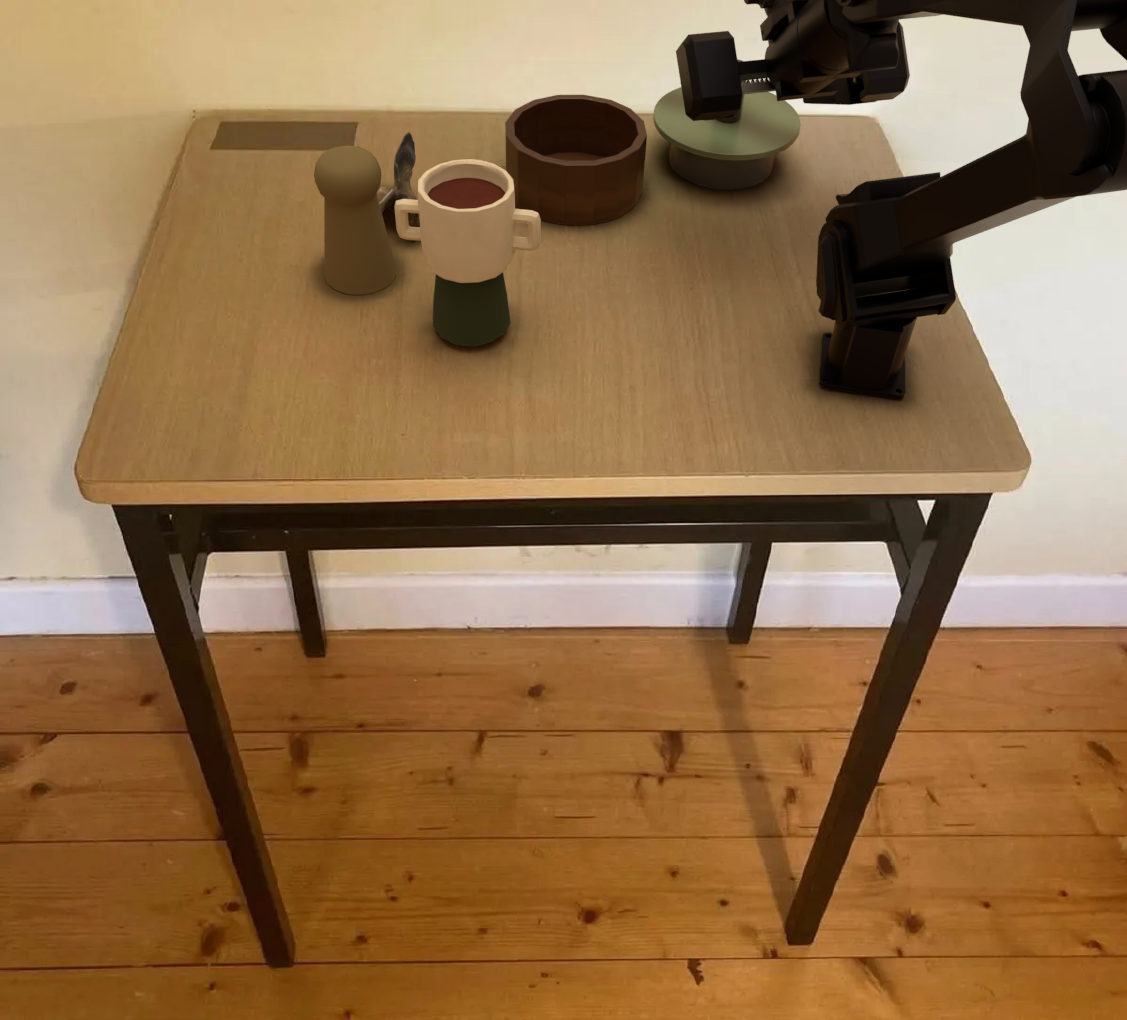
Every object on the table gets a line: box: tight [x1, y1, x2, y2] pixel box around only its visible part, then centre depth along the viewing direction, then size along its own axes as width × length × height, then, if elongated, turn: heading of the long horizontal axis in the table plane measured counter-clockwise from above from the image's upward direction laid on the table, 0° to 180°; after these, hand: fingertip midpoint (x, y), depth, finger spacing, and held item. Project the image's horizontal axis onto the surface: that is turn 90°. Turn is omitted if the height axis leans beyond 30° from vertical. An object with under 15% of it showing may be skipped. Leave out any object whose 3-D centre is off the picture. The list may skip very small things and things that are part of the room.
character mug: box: [394, 158, 542, 348], centre depth 85 cm, size 11×7×13 cm, turn 83°
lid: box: [652, 58, 802, 161], centre depth 104 cm, size 14×14×6 cm
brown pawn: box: [313, 145, 397, 296], centre depth 91 cm, size 6×6×11 cm
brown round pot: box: [504, 94, 648, 226], centre depth 102 cm, size 13×13×6 cm
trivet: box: [669, 143, 776, 190], centre depth 107 cm, size 10×10×4 cm
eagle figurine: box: [377, 131, 420, 243], centre depth 98 cm, size 8×7×9 cm
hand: (756, 102), depth 98 cm, fingers open, 9 cm apart
